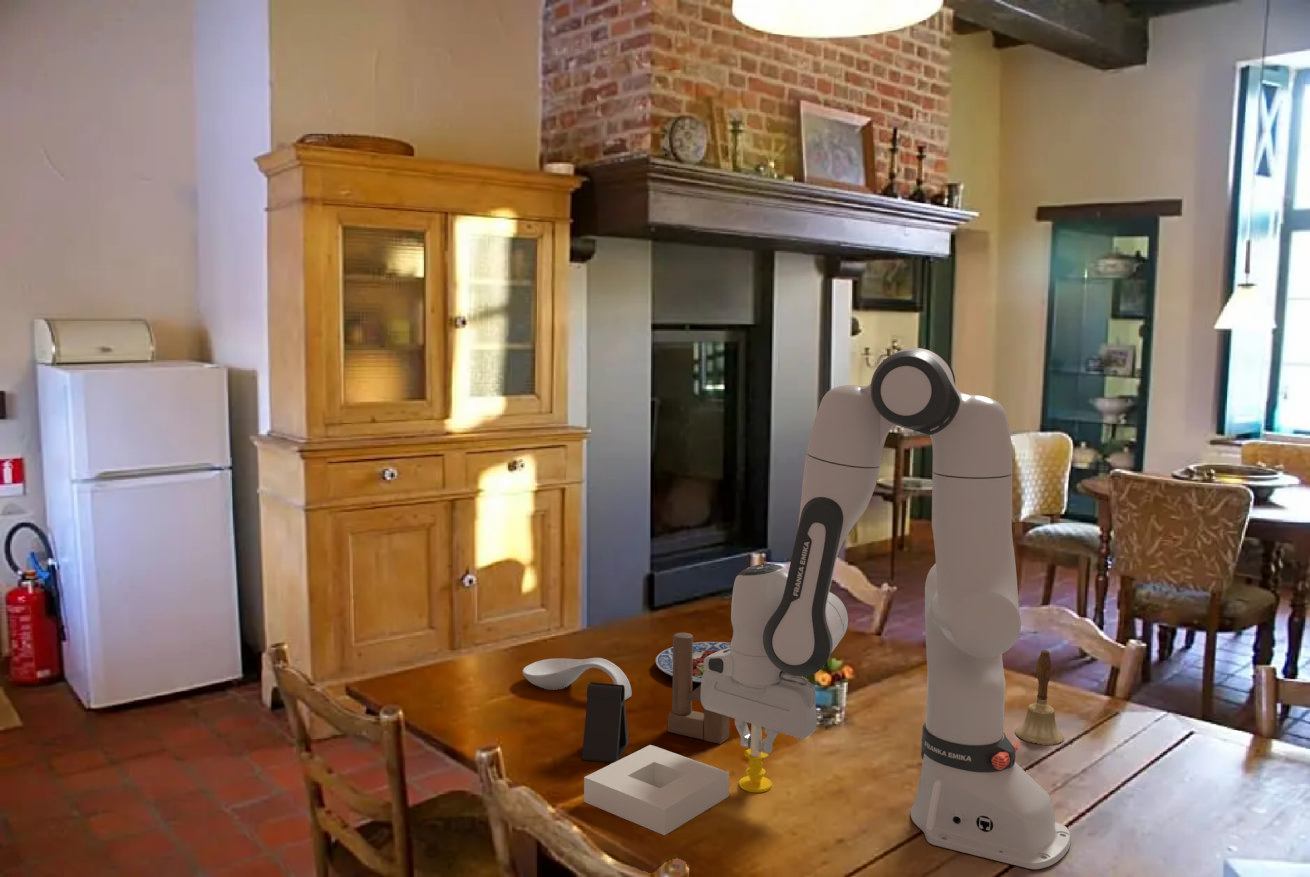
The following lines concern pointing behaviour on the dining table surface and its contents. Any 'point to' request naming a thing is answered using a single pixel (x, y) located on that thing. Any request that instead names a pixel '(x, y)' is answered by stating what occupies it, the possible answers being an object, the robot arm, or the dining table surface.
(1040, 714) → the hand bell
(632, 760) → the hole board
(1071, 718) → the dining table surface
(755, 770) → the candle
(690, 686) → the wooden block
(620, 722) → the phone stand
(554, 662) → the spoon rest
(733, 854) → the dining table surface
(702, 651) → the ceramic plate
